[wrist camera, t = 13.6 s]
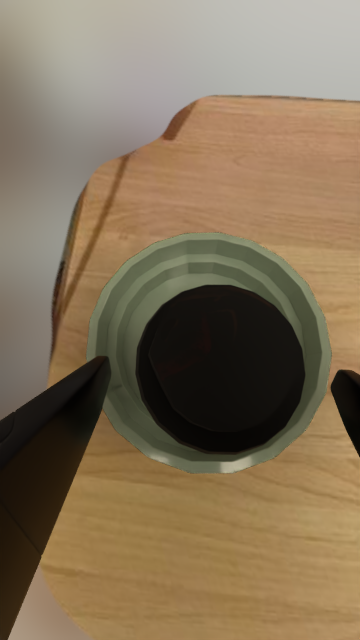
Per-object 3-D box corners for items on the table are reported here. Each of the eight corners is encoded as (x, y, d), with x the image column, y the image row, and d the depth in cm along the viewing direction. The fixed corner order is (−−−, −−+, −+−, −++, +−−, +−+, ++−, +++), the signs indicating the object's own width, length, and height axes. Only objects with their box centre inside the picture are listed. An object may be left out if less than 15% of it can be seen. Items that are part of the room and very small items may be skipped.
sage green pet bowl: (182, 498, 16) (181, 541, 12) (76, 328, 19) (44, 313, 15) (336, 366, 18) (384, 361, 14) (216, 234, 22) (223, 197, 17)
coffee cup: (263, 352, 18) (353, 317, 8) (225, 438, 16) (281, 518, 7) (184, 313, 19) (182, 241, 9) (142, 390, 17) (87, 400, 8)
